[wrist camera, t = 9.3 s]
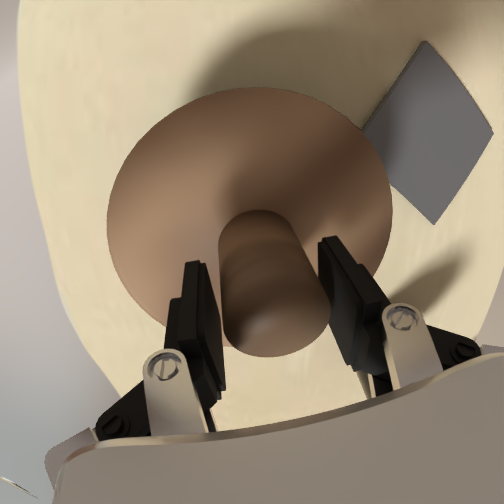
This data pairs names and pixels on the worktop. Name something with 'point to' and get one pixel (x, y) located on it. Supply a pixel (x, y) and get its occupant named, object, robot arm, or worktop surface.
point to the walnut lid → (248, 211)
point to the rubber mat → (428, 133)
